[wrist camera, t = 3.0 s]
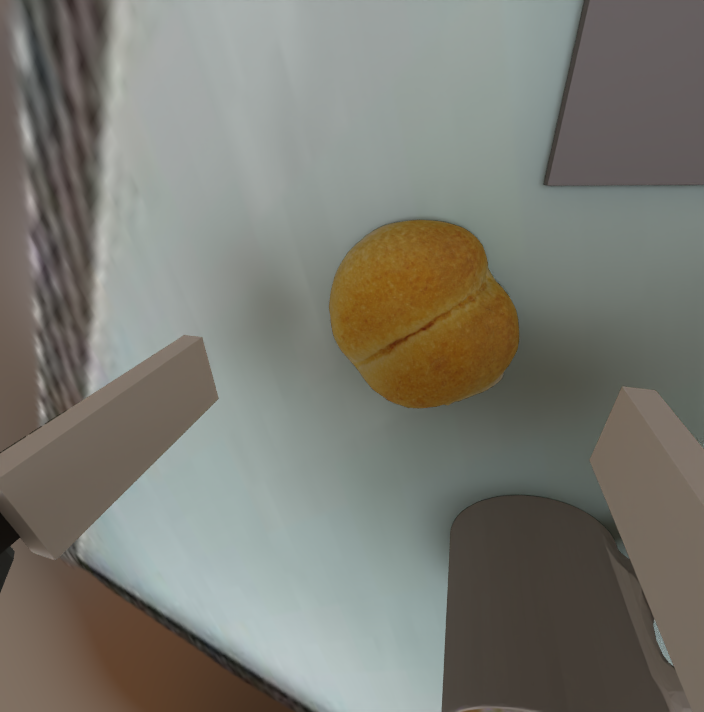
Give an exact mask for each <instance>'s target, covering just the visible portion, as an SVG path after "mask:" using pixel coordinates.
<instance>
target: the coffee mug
mask: <svg viewBox="0 0 704 712" xmlns="http://www.w3.org/2000/svg"><path fill="white" fill-rule="evenodd" d="M653 623H654V617H653V614H652V612H651V609H650V607H649V604H648V602H647V599H646V597H645V595H644V592H643V590H642V587H641V585H640V582H639V580H638V577H637V575H636V573H635V570H634V568H633V565H632V563H631V560H630V559H629V558H627V557H625V556H624V555H623V554H622V553H621V552H620V551H619V550H618V549H617V545H616V543H615V541H614V539H613V537H612V535H611V534H610V532H609V531H608V530H607V529H606V528H605V527H604V526H603V525H602V524H601V523H600V522H598V521H597V520H596V519H595V518H593V517H592V516H591V515H589V514H587V513H586V512H584V511H582V510H580V509H578V508H576V507H573V506H571V505H568V504H565V503H563V502H559V501H555V500H552V499H548V498H542V497H535V496H525V495H511V496H500V497H494V498H490V499H486V500H483V501H480V502H477V503H475V504H473V505H471V506H469V507H468V508H466V509H465V510H464V511H462V512H461V513H460V514H459V515H458V516H457V518H456V519H455V521H454V523H453V525H452V528H451V532H450V552H449V572H448V593H447V613H446V633H445V654H444V674H443V695H442V712H692V709H691V707H690V704H689V702H688V699H687V697H686V695H685V692H684V690H683V687H682V685H681V682H680V680H679V677H678V675H677V673H676V670H675V668H674V666H673V665H671V664H670V663H669V662H668V661H667V660H666V658H665V657H664V656H663V654H662V652H661V650H660V647H659V645H658V643H657V641H656V636H655V631H654V627H653Z"/></svg>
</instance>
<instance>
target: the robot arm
mask: <svg viewBox="0 0 704 712" xmlns="http://www.w3.org/2000/svg"><path fill="white" fill-rule="evenodd" d="M218 399H219V398H218V394H217V391H216V387H215V383H214V380H213V376H212V372H211V368H210V365H209V361H208V357H207V353H206V350H205V346H204V342H203V338H202V337H197V336H188V335H184V336H182V337H180V338H179V339H177V340H176V341H174V342H173V343H171V344H170V345H168V346H166V347H165V348H163V349H162V350H160V351H159V352H157V353H156V354H154V355H152V356H151V357H149V358H148V359H146V360H145V361H143V362H142V363H140V364H138V365H137V366H135V367H134V368H132V369H131V370H129V371H128V372H126V373H124V374H123V375H121V376H120V377H118V378H117V379H115V380H114V381H112V382H111V383H109V384H107V385H106V386H104V387H103V388H101V389H100V390H98V391H97V392H95V393H93V394H92V395H90V396H89V397H87V398H86V399H84V400H83V401H81V402H79V403H78V404H76V405H75V406H73V407H72V408H70V409H69V410H66V411H64V412H62V413H61V414H59V415H58V416H56V417H55V418H53V419H52V420H50V421H48V422H47V423H45V425H44V426H41V427H39V428H38V429H36V430H34V431H33V432H31V433H30V435H29V436H27V437H26V436H25V437H24V438H22V439H20V440H19V441H17V442H16V443H14V444H13V445H11V446H9V447H8V448H6V449H5V450H3V451H2V452H0V592H1V589H2V587H3V584H4V582H5V579H6V577H7V574H8V572H9V569H10V567H11V564H12V562H13V559H14V550H13V549H12V548H11V547H10V546H11V545H12V544H13V543H14V542H15V541H16V540H18V539H19V538H21V539H22V540H23V542H24V543H25V544H26V545H27V547H28V548H29V549H30V550H31V551H32V552H33V553H35V554H38V555H42V556H44V557H47V558H50V559H53V560H57V559H58V558H59V557H60V556H61V555H62V554H63V553H64V552H65V551H66V550H67V549H68V548H69V547H70V546H71V545H72V544H73V543H74V542H75V541H76V540H77V539H78V538H79V537H80V536H81V535H82V534H83V533H84V532H85V531H86V530H87V529H88V528H89V527H90V526H91V525H92V524H93V523H94V522H95V521H96V520H97V519H98V518H99V517H100V516H101V515H102V514H103V513H104V512H105V511H106V510H107V509H108V508H109V507H110V506H111V505H112V504H113V503H114V502H115V501H116V500H117V499H118V498H119V497H120V496H121V495H122V494H123V493H124V492H125V491H126V490H127V489H128V488H129V487H130V486H131V485H132V484H133V483H134V482H135V481H136V480H137V479H138V478H139V477H140V476H141V475H142V474H143V473H144V472H145V471H146V470H147V469H148V468H149V467H150V466H151V465H152V464H153V463H154V462H155V461H156V460H157V459H158V458H159V457H160V456H161V455H162V454H163V453H164V452H165V451H167V450H168V449H169V448H170V447H171V446H172V445H173V444H174V443H175V442H176V441H177V440H178V439H179V438H180V437H181V436H182V435H183V434H184V433H185V432H186V431H187V430H188V429H189V428H190V427H191V426H192V425H193V424H194V423H195V422H196V421H197V420H198V419H199V418H200V417H201V416H202V415H203V414H204V413H205V412H206V411H207V410H208V409H209V408H210V407H211V406H212V405H213V404H214V403H215V402H216V401H217V400H218ZM590 463H591V465H592V468H593V470H594V473H595V475H596V478H597V480H598V482H599V485H600V487H601V490H602V492H603V495H604V497H605V499H606V502H607V504H608V507H609V509H610V512H611V514H612V517H613V519H614V521H615V524H616V526H617V529H618V531H619V534H620V536H621V538H622V541H623V543H624V546H625V548H626V551H627V553H628V556H629V558H630V560H631V563H632V565H633V568H634V570H635V573H636V575H637V577H638V580H639V582H640V585H641V587H642V590H643V592H644V595H645V597H646V599H647V602H648V604H649V607H650V609H651V612H652V614H653V617H654V619H655V621H656V624H657V626H658V629H659V631H660V634H661V636H662V638H663V641H664V643H665V646H666V648H667V651H668V653H669V656H670V658H671V660H672V663H673V665H674V668H675V670H676V673H677V675H678V677H679V680H680V682H681V685H682V687H683V690H684V692H685V695H686V697H687V699H688V702H689V704H690V707H691V709H692V712H704V449H703V448H702V446H701V445H700V444H699V443H698V441H697V440H696V439H695V438H694V437H693V435H692V434H691V433H690V432H689V430H688V429H687V428H686V427H685V426H684V424H683V423H682V422H681V421H680V419H679V418H678V417H677V416H676V414H675V413H674V412H673V411H672V410H671V408H670V407H669V406H668V405H667V403H666V402H665V401H664V400H663V398H662V397H661V396H660V395H659V394H658V392H657V391H656V390H649V389H641V388H632V387H624V386H622V388H621V390H620V392H619V394H618V397H617V399H616V401H615V403H614V406H613V408H612V410H611V412H610V415H609V417H608V419H607V422H606V424H605V426H604V428H603V431H602V433H601V435H600V437H599V440H598V442H597V444H596V447H595V449H594V451H593V453H592V456H591V458H590Z"/></svg>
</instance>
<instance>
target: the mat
mask: <svg viewBox="0 0 704 712" xmlns="http://www.w3.org/2000/svg"><path fill="white" fill-rule="evenodd" d="M544 185H547V186H556V185H704V0H585V1H584V5H583V10H582V14H581V19H580V23H579V28H578V32H577V37H576V41H575V46H574V50H573V55H572V59H571V64H570V68H569V73H568V77H567V82H566V86H565V91H564V95H563V100H562V104H561V109H560V113H559V118H558V122H557V127H556V131H555V136H554V140H553V145H552V149H551V154H550V158H549V163H548V167H547V172H546V176H545V181H544Z"/></svg>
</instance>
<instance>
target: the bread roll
mask: <svg viewBox="0 0 704 712" xmlns="http://www.w3.org/2000/svg"><path fill="white" fill-rule="evenodd" d="M329 311H330V316H331V326H332V332H333V336H334V338H335V340H336V342H337V344H338V346H339V348H340V349H341V351H342V352H343V353H344V354H345V355H346V356H347V358H348V359H349V360H350V361H351V362H352V363H353V364H354V366H355V367H356V368H357V370H358V371H359V372H360V373H361V375H362V376H363V378H364V379H365V381H366V382H367V383H368V384H369V385H370V387H371V388H372V389H373V390H374V391H376V392H377V393H379V394H380V395H382V396H383V397H385V398H386V399H387V400H389V401H391V402H393V403H396V404H399V405H402V406H405V407H407V408H428V407H437V406H440V405H444V404H445V405H450V404H451V403H453V402H456V401H461V400H463V399H466V398H469V397H471V396H473V395H476V394H479V393H482V392H484V391H486V390H488V389H489V388H491V387H493V386H494V385H495V384H497V383H498V382H499V381H500V380H501V379H502V377H503V373H504V371H505V369H506V368H507V367H508V366H509V364H510V363H511V361H512V359H513V357H514V356H515V354H516V351H517V349H518V344H519V325H518V316H517V312H516V309H515V307H514V305H513V303H512V301H511V299H510V297H509V296H508V294H507V293H506V292H505V291H504V289H503V288H502V287H501V286H500V285H499V284H498V283H497V282H496V281H495V279H494V278H493V276H492V274H491V273H490V271H489V269H488V262H487V258H486V254H485V251H484V248H483V246H482V244H481V243H480V242H479V240H478V239H477V238H476V237H475V236H474V235H473V234H472V233H471V232H469V231H468V230H466V229H464V228H462V227H459V226H457V225H453V224H450V223H446V222H441V221H431V220H409V221H403V222H396V223H391V224H388V225H384V226H382V227H380V228H378V229H376V230H374V231H372V232H371V233H369V234H368V235H366V236H365V237H364V238H363V239H362V240H361V241H359V242H358V243H357V244H356V245H355V246H354V247H353V248H352V249H351V250H350V251H349V252H348V253H347V255H346V256H345V258H344V259H343V261H342V263H341V264H340V266H339V268H338V270H337V272H336V275H335V277H334V281H333V284H332V288H331V294H330V302H329Z"/></svg>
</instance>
